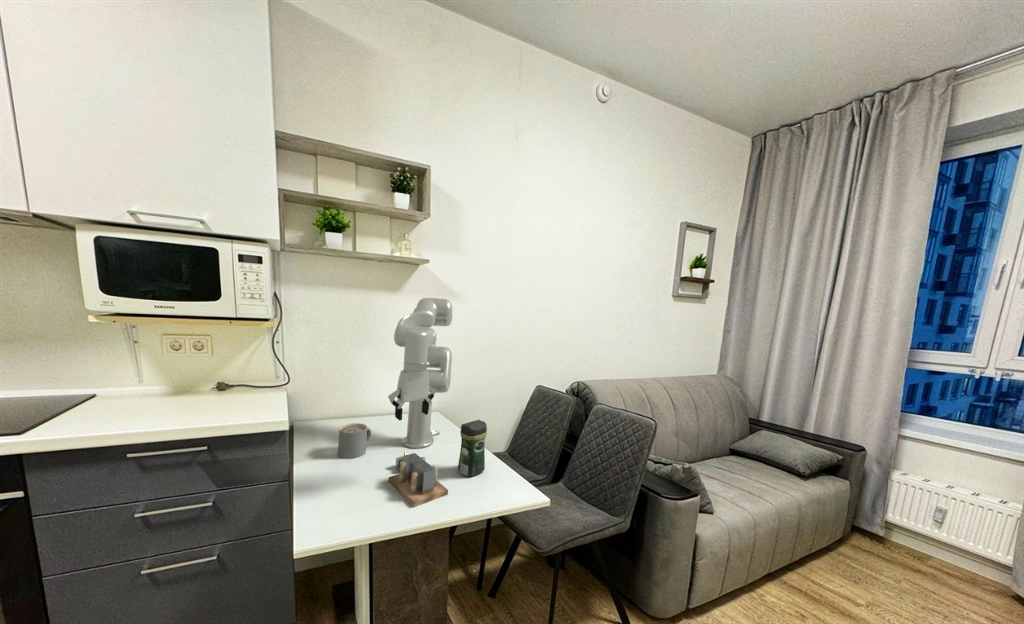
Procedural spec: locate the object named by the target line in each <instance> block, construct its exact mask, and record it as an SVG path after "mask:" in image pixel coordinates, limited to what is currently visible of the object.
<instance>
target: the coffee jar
mask: <svg viewBox="0 0 1024 624" xmlns="http://www.w3.org/2000/svg"><path fill="white" fill-rule="evenodd" d="M487 429H488V428H487V423H486V422H485V421H484V420H480V419H477V420H472V421H469V422H465V423H463V424H461V426H460V436H461V445H460V452H459V457H458V458H459V459H458V466H457V471H458V473H459V474H460V475H462V476H463V477H469V478H473V477H474V476H477V475H479V474H481V473H483V472H484V471H485V469H486V467H485V464H486V463H485V462H486V461H485V449H486V448H485V445H486V444H485V443H486V442H485V441H486V437H487V432H488V430H487Z"/></svg>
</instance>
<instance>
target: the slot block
mask: <svg viewBox="0 0 1024 624" xmlns="http://www.w3.org/2000/svg"><path fill="white" fill-rule="evenodd" d="M405 455H407V452H406V451H404V452H403V456H399V457H396V458H395V459H396V460H395V468H396V470H398V472H400V463H402V462H404V456H405Z"/></svg>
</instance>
